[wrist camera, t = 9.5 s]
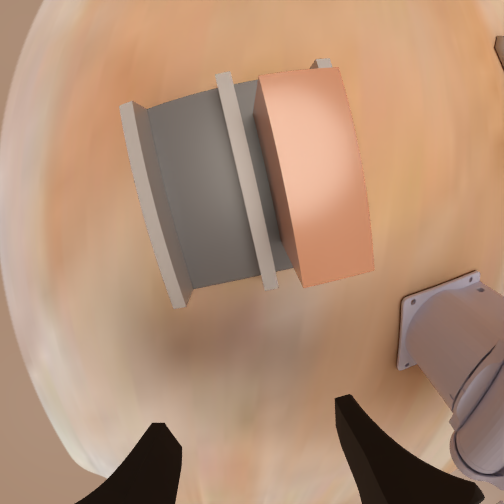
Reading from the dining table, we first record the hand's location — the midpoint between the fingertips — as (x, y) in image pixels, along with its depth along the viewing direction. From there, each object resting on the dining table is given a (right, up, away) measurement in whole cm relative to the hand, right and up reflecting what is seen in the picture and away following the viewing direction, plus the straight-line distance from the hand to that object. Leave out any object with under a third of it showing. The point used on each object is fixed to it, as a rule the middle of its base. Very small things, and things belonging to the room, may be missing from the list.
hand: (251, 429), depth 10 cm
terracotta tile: (+2, +12, +6) cm, 14 cm away
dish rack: (0, +12, +7) cm, 14 cm away
